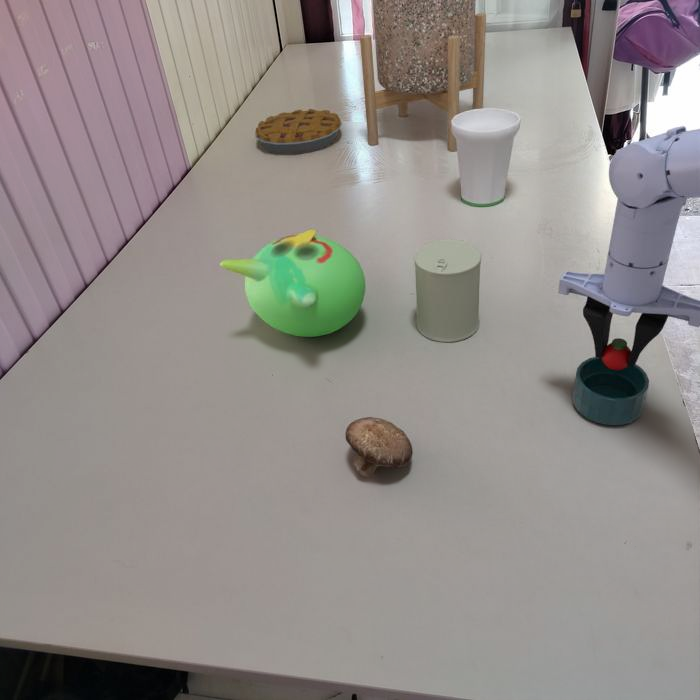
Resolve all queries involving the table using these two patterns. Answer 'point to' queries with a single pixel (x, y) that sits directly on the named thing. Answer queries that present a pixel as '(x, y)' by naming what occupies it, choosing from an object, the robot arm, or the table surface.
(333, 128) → the pie
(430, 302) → the can
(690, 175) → the robot arm
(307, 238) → the toy bird
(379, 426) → the mushroom
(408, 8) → the planter
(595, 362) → the bowl
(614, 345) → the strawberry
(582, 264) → the table surface
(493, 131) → the cup
